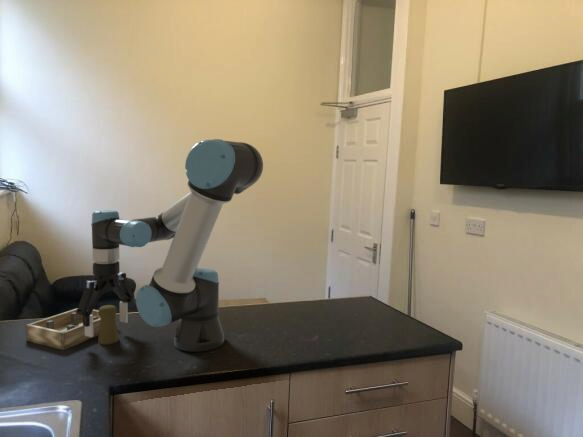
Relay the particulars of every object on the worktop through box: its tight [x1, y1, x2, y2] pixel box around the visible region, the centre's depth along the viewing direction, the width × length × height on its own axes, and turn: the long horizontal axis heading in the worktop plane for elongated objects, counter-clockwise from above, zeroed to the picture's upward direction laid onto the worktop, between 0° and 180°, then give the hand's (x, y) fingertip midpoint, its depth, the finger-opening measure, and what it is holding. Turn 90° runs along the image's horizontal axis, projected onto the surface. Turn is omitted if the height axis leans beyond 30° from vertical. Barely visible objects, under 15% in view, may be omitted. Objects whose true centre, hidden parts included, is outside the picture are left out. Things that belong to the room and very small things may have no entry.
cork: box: [97, 304, 120, 345], centre depth 136 cm, size 6×6×11 cm
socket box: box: [25, 307, 117, 351], centre depth 141 cm, size 16×20×5 cm
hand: (107, 328), depth 136 cm, fingers open, 13 cm apart
